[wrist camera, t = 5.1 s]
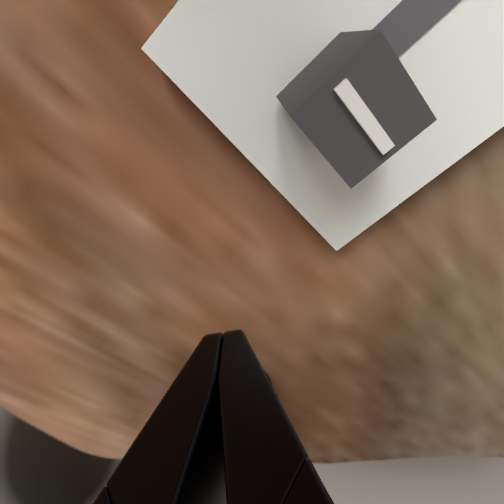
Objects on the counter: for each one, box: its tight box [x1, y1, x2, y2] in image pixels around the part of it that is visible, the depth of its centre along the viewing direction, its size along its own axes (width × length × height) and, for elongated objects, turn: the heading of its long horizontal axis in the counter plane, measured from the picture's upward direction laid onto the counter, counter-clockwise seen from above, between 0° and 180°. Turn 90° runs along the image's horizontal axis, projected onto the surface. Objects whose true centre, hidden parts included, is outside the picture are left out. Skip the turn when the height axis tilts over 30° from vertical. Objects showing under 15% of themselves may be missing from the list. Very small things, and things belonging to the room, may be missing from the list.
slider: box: [276, 29, 437, 189], centre depth 12 cm, size 3×3×4 cm
